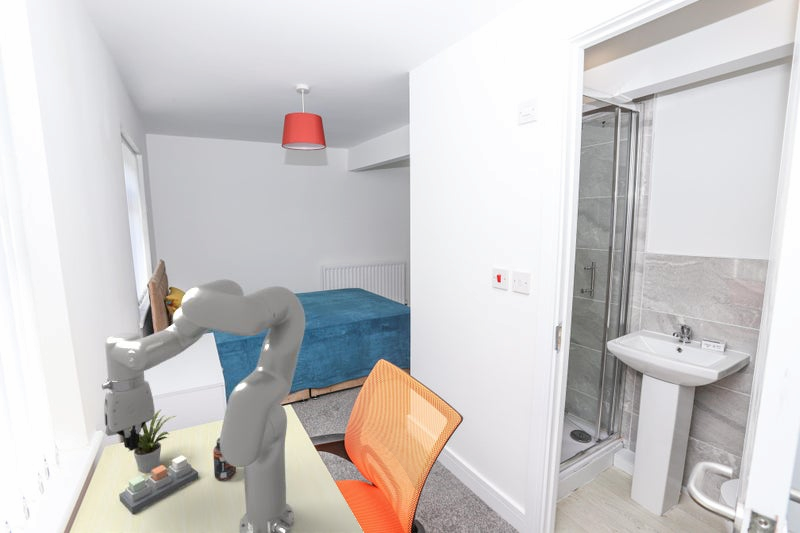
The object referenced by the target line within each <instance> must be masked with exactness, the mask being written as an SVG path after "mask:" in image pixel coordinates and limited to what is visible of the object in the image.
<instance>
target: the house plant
mask: <svg viewBox="0 0 800 533" xmlns="http://www.w3.org/2000/svg"><path fill="white" fill-rule="evenodd" d="M161 411H162V409H159V410H158V411H156V412H155V414H154V418H153V419H152V420H150V421H151V422H150V427H149V429H148V427H147V422H146V423H145V425H144V426H143V427H142V429H141V430H142V431H143V434H141V433H139V440H140V442H139V443H138V448H137V449H134V450H133V456H134V458H135V462H136V465H137V468H138V471H139V473H141V474H146V473H151V470H153V469H155V468H157V467H159V466H160V460H161V451H162V450H161V449H162V443H161V442H159V441H163V440H164V439H168V437H167V436H165V435H169V436H170V433H169V432H168V431H163V432H161V433H160V434H158V436H157V437H156V435H157V433H158V432H159V431H160V430H161V429H162V427H163V426H164V424H165V423H166V422H168V420H170V419H172V418H175V417H176V415H173V416H169V417H167V418H165V416H166V414H165V415H162V416H161V417H160V418H159V419H157V418H158V416H159V413H160V412H161ZM163 418H165V420H163ZM162 420H163V421H162ZM161 421H162V422H161ZM155 423H156V425H155ZM154 425H155V426H154ZM129 430H130V431H131V427H130V428H129ZM128 452H132V451H131V450H128Z"/></svg>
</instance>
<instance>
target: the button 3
mask: <svg viewBox="0 0 800 533" xmlns="http://www.w3.org/2000/svg"><path fill="white" fill-rule="evenodd" d="M171 462H172V465H173V469H175V470H176V471H178V470H180V469H182V468H184V467H186V466H187V462H188V458H186V457H185V456H184V455H183V454H181V455H179V456H178V457H174V459H171Z"/></svg>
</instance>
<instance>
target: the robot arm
mask: <svg viewBox="0 0 800 533" xmlns="http://www.w3.org/2000/svg"><path fill="white" fill-rule="evenodd" d="M210 330H212V331H216V332H221V333H226V334H231V335H235V336H239V337H240V336H242V337H251V336H256V335H259V334H261V333H263V332H265V331H267V330H268V331H267V334H266V335H265V338H264V340H263V343H262V345H261V349H260V354H259V358H258V362H257V364H256V367H255V369H254V370H253V371H252V372H251V373H250V374H249V375H247V377H245V378H243V379H242V380H241V381H240V382H239V383H238V384H237V385H236V386H235V387H234V388H233V390H232V391H231V393H230V395H229V398H228V400H227V405H226V409H225V413H224V418H223V422H222V427H221V431H220V436H219V438H220V451H221V454H222V456H223V458H224V460H225V461H226V462H227V463H228V464H230V465H231V466H234V467H236V468H243V478H244V481H243V482H244V493H245V494H244V496H245V497H244V498H245V513H244V514H243V516H242V518H241V520H240V523H239V530H240V531H239V532H240V533H291V529H290V528H292V527H294V525H295V521H294V511H293V508H292V506H290V504H288V503H287V490H286V489H287V487H286V486H287V485H286V455H285V454H286V452H285V451H286V450H285V448H286V437H287V428H288V427H287V426H288V417H287V412H286V410H285V407H284V406H283V405H282V403H283V402H284V401H285V399H286V398H287V397H288V396H289V394H290V392H291V388H292V384H293V380H294V376H295V372H296V368H297V364H298V359H299V355H300V350H301V347H302V342H303V340H304V334H305V331H306V315H305V310H304V307H303V303H302V302H301V300H300V299H299V298H298V296H297V295H296V294H295V293H294V292H293V291H291V290H290V289H288V288H286V287H284V286H276V285H275V286H269V287H266V288H262V289H260V290H257V291H255V292H252V293H249V294H246V295H245V294H244V290H243V288H242V287H241V285H240V284H238V283H237V282H236V281H234V280H232V279H231V280H230V279H218V280H217V279H216V280H214V281H210V282H207V283H203V284H200V285H197V286H194V287H192V288H190V289H189V290H188V291H186V293H185V294H184V296H183V297H182V299H181V303H180V306H179V307H178V308H177V309H176V310H175V311H174V313H173V314H172V324H171V325H170V326H168V327H167V328H165V329H163V330H160V331H158V332H154V333H152V334H150V335H147V336H145V337H141V335H140V334H139V333H137V332H119V333H117V334H116V333H115V334H113V335H111V336H109V337H108V338H107V339H106V340H105V342H104V346H105V347H104V348H105V357H106V367H107V368H106V369H107V370H106V371H107V379H106V380H107V381H106V382H105V383H102V384H101V389H102V390H103V391H104V390H106V392H105V395H104V396H105V398H104V406H103V408H104V409H103V410H104V412H103V414H104V415H103V417H104V425H105V426H106V427H105V434H106V436H108V437H110V436H111V437H112V436H116V435H120V436H122V437H123V445H124V447H125V449H129V450H131V451H130V452H132V451H134V449H137V448H138V443H139V442H140V440H139V434H141V431H142V430H143V429H142V427H143V426H144V425H145V423H146V424H147V423H149V422H150V421H152V419H153V418H154V415H155V414H156V411H155V404H154V398H153V394H152V393H153V392H152V389H151V386H150V383H149V381H148V380H146V379H145V372H146V371H148V370H151V369H152V368H155V367H156V366H158V365H160V364H162V363H164V362H166V361H169V360H171V359H172V358H174V357H176V356H178V355H179V354H181V353H183V352H184V351H186V350H188V348H190V347H192V346H193V345H194V344H196V343H197V342H198V341H199V340H200V339H201V338H203V336H204V335H205V334H206V333H209V331H210ZM130 427H131V430H129V428H130ZM129 450H128V451H129Z"/></svg>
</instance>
